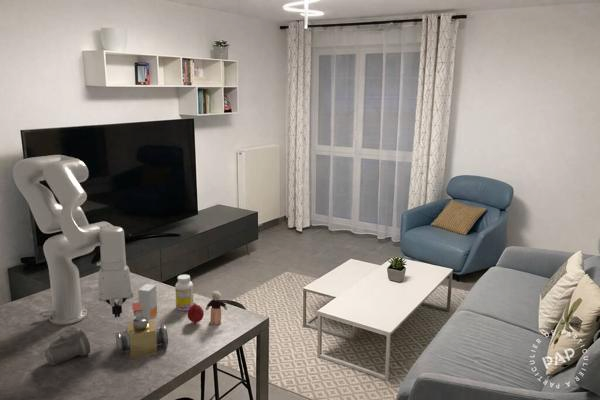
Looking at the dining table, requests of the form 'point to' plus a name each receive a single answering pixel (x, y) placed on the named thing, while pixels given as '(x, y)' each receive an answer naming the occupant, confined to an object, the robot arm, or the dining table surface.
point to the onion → (195, 313)
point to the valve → (141, 340)
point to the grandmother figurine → (216, 308)
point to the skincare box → (148, 300)
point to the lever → (139, 317)
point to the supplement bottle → (184, 293)
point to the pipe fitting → (67, 346)
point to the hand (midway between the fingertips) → (117, 315)
